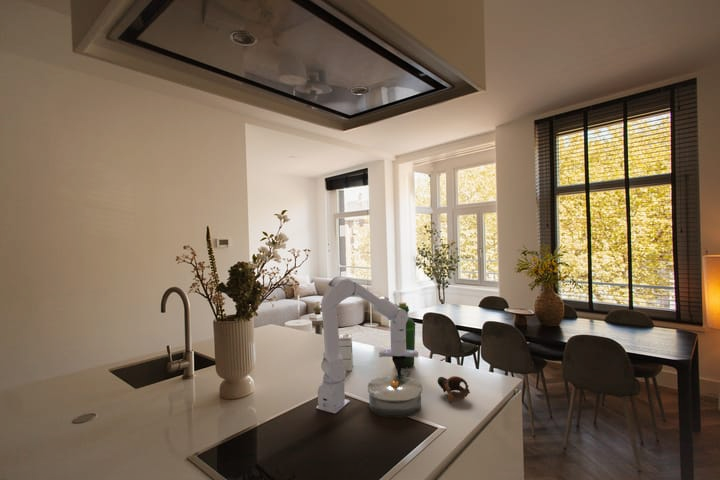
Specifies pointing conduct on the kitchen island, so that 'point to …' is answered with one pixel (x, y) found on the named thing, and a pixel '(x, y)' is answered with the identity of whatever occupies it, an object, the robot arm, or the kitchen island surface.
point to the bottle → (409, 337)
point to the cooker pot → (395, 407)
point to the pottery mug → (454, 387)
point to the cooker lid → (395, 388)
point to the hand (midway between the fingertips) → (399, 375)
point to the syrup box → (346, 350)
